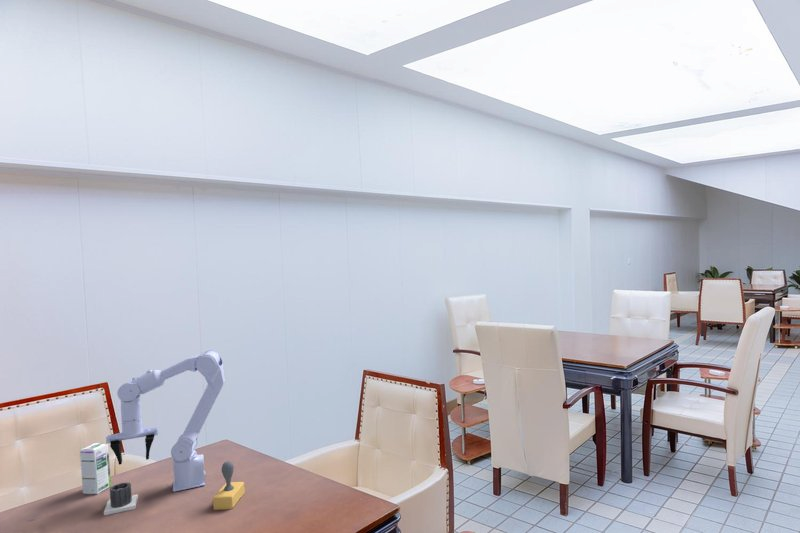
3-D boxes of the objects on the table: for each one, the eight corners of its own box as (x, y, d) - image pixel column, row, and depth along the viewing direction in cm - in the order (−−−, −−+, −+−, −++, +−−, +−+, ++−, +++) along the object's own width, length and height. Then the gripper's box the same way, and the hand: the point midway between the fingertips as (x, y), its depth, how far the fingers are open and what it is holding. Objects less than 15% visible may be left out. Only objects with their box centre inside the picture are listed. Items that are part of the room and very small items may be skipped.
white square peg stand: (137, 497, 153) (136, 481, 153) (135, 508, 145) (134, 492, 145) (108, 503, 150) (107, 487, 150) (104, 515, 142) (103, 498, 142)
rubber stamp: (226, 493, 152) (224, 455, 152) (245, 493, 152) (242, 454, 152) (213, 509, 142) (210, 468, 142) (232, 509, 142) (230, 468, 142)
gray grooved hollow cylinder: (134, 497, 150) (133, 481, 150) (127, 506, 145) (126, 489, 145) (114, 500, 149) (113, 484, 149) (108, 508, 144) (107, 492, 144)
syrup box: (97, 494, 156) (95, 449, 156) (81, 493, 157) (79, 449, 157) (111, 486, 162) (109, 442, 162) (96, 485, 163) (93, 442, 163)
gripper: (157, 411, 163) (160, 452, 163) (107, 419, 158) (110, 461, 158) (156, 417, 157) (158, 459, 157) (104, 425, 151) (106, 469, 151)
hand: (134, 460), depth 157 cm, fingers open, 7 cm apart
